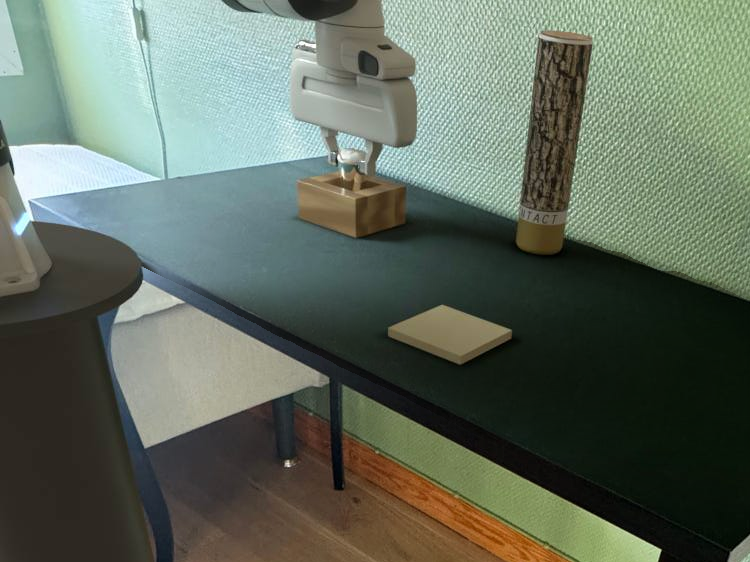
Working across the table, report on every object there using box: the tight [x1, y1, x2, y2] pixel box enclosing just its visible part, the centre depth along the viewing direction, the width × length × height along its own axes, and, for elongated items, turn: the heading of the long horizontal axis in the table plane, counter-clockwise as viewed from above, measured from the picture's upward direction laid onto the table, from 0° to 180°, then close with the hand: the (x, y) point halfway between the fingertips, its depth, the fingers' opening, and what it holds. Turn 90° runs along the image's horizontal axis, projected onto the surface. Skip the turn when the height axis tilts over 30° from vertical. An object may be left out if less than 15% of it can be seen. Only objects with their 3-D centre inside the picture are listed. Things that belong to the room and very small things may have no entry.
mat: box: [387, 304, 513, 366], centre depth 90 cm, size 10×10×1 cm
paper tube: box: [515, 29, 594, 256], centre depth 108 cm, size 7×7×25 cm
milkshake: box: [336, 144, 369, 192], centre depth 114 cm, size 5×5×10 cm
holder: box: [296, 170, 407, 239], centre depth 116 cm, size 11×11×5 cm
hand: (352, 170), depth 113 cm, fingers closed on milkshake, 4 cm apart
